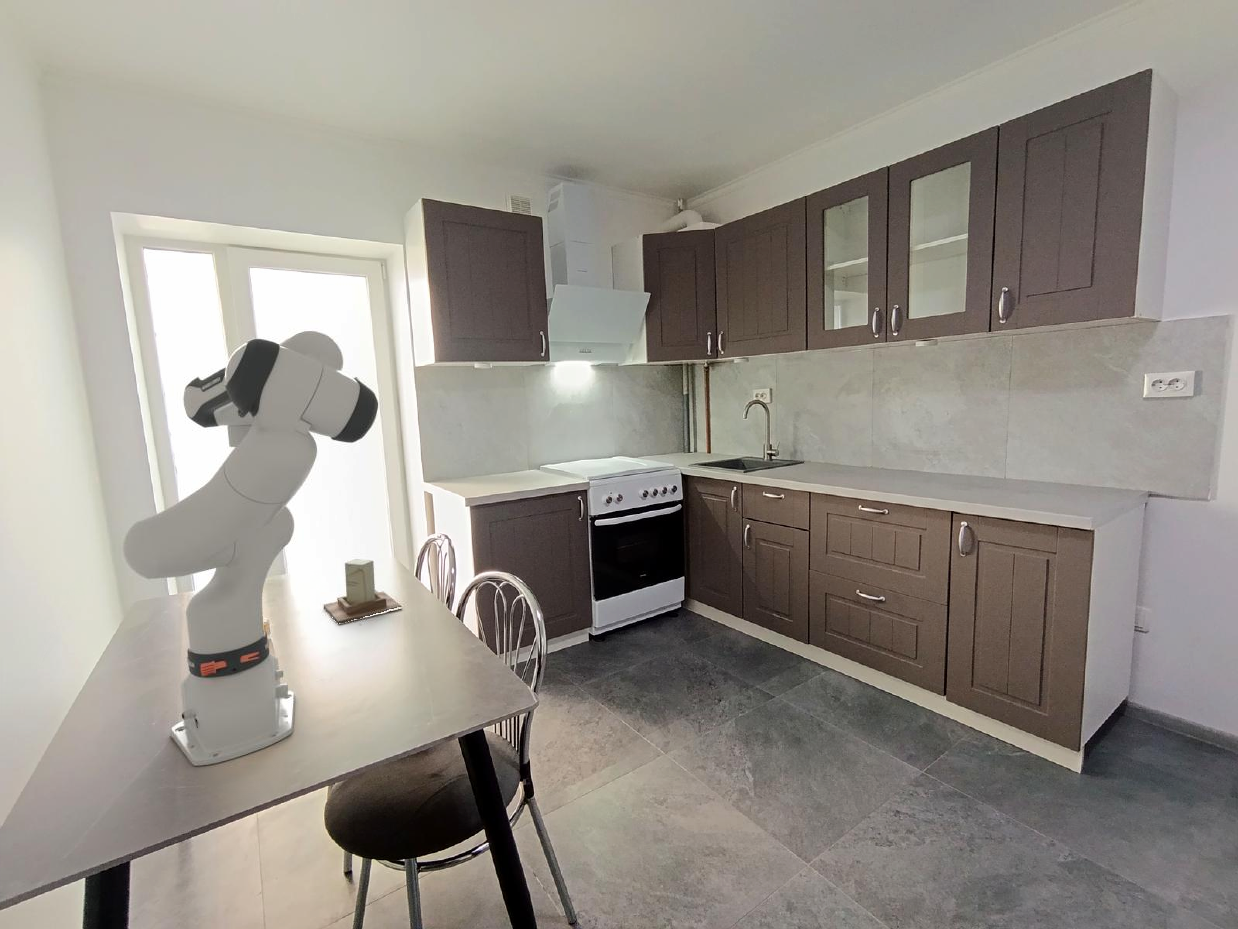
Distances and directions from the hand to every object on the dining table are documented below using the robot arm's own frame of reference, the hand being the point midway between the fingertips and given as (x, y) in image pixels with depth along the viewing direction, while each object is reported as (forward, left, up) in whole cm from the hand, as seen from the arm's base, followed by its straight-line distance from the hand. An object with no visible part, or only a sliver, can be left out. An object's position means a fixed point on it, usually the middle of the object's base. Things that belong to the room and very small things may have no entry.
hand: (258, 498), depth 130 cm
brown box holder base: (+12, -23, -35) cm, 44 cm away
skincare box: (+12, -23, -34) cm, 43 cm away
